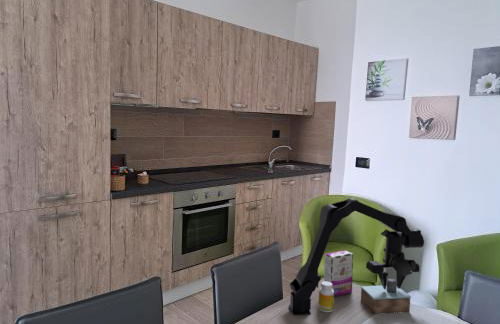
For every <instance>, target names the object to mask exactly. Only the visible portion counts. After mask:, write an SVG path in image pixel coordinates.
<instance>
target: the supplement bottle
mask: <svg viewBox="0 0 500 324" xmlns="http://www.w3.org/2000/svg"><path fill="white" fill-rule="evenodd" d="M320 286H321V287H320V288H318V306H317V307H318V310H319V311H321V312H323V313H331V312H333V311H334V306H335V305H334V302H335V297H334V290H333V289H332V283H331V282H328V281H324V280H323V281H322V282H320Z"/></svg>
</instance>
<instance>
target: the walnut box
mask: <svg viewBox="0 0 500 324" xmlns="http://www.w3.org/2000/svg"><path fill="white" fill-rule="evenodd" d="M360 289H361V290H360V302H361V303H362V304H363V305H364V306H365V308H367V309H368V310H369V311H370V312H371V314H373V315H380V314H379V313H386V314H399V313H398V312H403V313H410V309H411V298H401V299H382V300H374V299H373V298H371V297H370V296H369V295H368V294H367V293H366V292H365V291H364V290H363V289H362V288H360ZM394 312H395V313H394ZM396 312H397V313H396Z"/></svg>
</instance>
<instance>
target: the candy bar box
mask: <svg viewBox="0 0 500 324" xmlns="http://www.w3.org/2000/svg"><path fill="white" fill-rule="evenodd" d="M323 268H324V269H323V270H324V273H323V274H324V275H323V281H328V282H331V283H332V289H333V290H334V298H335V297H339V296H344V295H346V294H351V293H352V292H353V275H354V274H353V272H354V271H353V270H354V253H353V252H351V251H348V250H341V251H333V252H330V253H324V267H323Z"/></svg>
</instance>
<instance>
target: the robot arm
mask: <svg viewBox="0 0 500 324" xmlns="http://www.w3.org/2000/svg"><path fill="white" fill-rule="evenodd" d="M354 212H357V213H359V214H361V215H364V216H366V217H369V218H370V219H373V220H376V221H378V222H379V223H381V224H382V225H383V226H385V227H387V228H388V229H385V230H384V231H382V232H380V235H381V236H383V237H385V248H384V247H383V252H384V253H385V254H384V255H385V256H384V258H382V262H383V263H380V262H379V261H377V260H367V262H366V264H365V265H366V266H365V268H366V269H367V270H368V271H369V272H371V273H372V274H375V275H378V278H379V279H380V283H381V285H382V286H383V288H384V289H386V285H387V279H388V278H387V277H388V276H389V273H388V272H387V270H394V271H395V273H396V275H395V277H396V281H397V288H398V289H401V287H402V285H403V282H404V281H405V279H406V278H407V276H410V275H412V274H413V273H419V272H420V269H421V268H420V267H421V266H420V265H419V263H417V262H416V261H415V260H414V259H407V258H405V252H403V247H404V248H405V249H418V248H419V249H421V248H423V246H424V244H425V240H424V236H423V234H422V231H421V229H418V228H417V229H416V228H415V229H410V228H409V226H408V223H407V220H406V218H405V217H403V216H401V215H399V214H396V213H395V212H393V213H392V212H388V211H382V210H379V209H377V208H374V207H372V206H370V205H368V204H366V203H362V202H361V201H359V200H357V199H356V198H353V197H350V198H347V199H344V200H340V201H337V202H334V203H331V204H325V205H323V206H322V207H321V209H320V213H319V226H318V229H317V233H316V235H315V238H314V241H313V243H312V245H311V249H310V252H309V253H308V254H309V255H308V257H307V260H306V261H305V263H304V265H302V266H301V267H300V269H299V270H298V273H297V274H296V277H295V278H294V279H293V280H292V281H290V283H289V287H290V289H291V291H290V299H289V300H290V303H289V305H288V308H289V310H290V312H291V313H292V315H294V316H299V315H300V316H301V315H310V314H311V313H312V312H311V308H312V307H311V306H312V305H311V304H312V299H311V297H312V294H313V292H315V290H316V289H317V288H318V289H319V283H320V281H321V280H322V276H321V275H320V274H319V268H320V264H321V262H322V260H323V256H324V255H325V251H326V249H327V245H328V244H329V241H330V238H331V235H332V233H333V232H334V231H335V230H336V229H337V228H338V226H339V225H340V223H341V221H342V220H343V219H345V218H347V217H349V215H351V214H352V213H354ZM389 229H390V230H391V231H390V230H389Z"/></svg>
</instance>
